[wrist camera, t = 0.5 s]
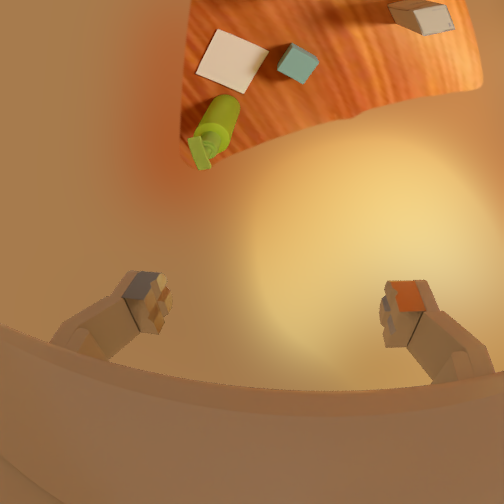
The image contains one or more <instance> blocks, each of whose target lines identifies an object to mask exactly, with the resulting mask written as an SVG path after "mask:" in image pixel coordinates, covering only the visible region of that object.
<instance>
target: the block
mask: <svg viewBox="0 0 504 504" xmlns="http://www.w3.org/2000/svg"><path fill="white" fill-rule="evenodd" d="M318 63H319V61H318V59H317V57H316V56H314V55H313V54H311V53H309V52H307V51H306V50H304V49H302V48H300V47H299V46H297V45H295V44H293V43H291V44H290V46H289V47H288V49H287V50H286V52H285V53H284V55H283V56H282V58H281V59H280V61H279V62H278V65H277V70H278V71H280V72H282V73H283V74H285V75H287V76H289V77H291V78H293V79H295V80H296V81H298V82H300V83H302V84H304V83H305V81H306V80H307V79H308V77H309V76H310V74H311V73H312V72H313V70H314V69H315V67H316V66H317V65H318Z"/></svg>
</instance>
